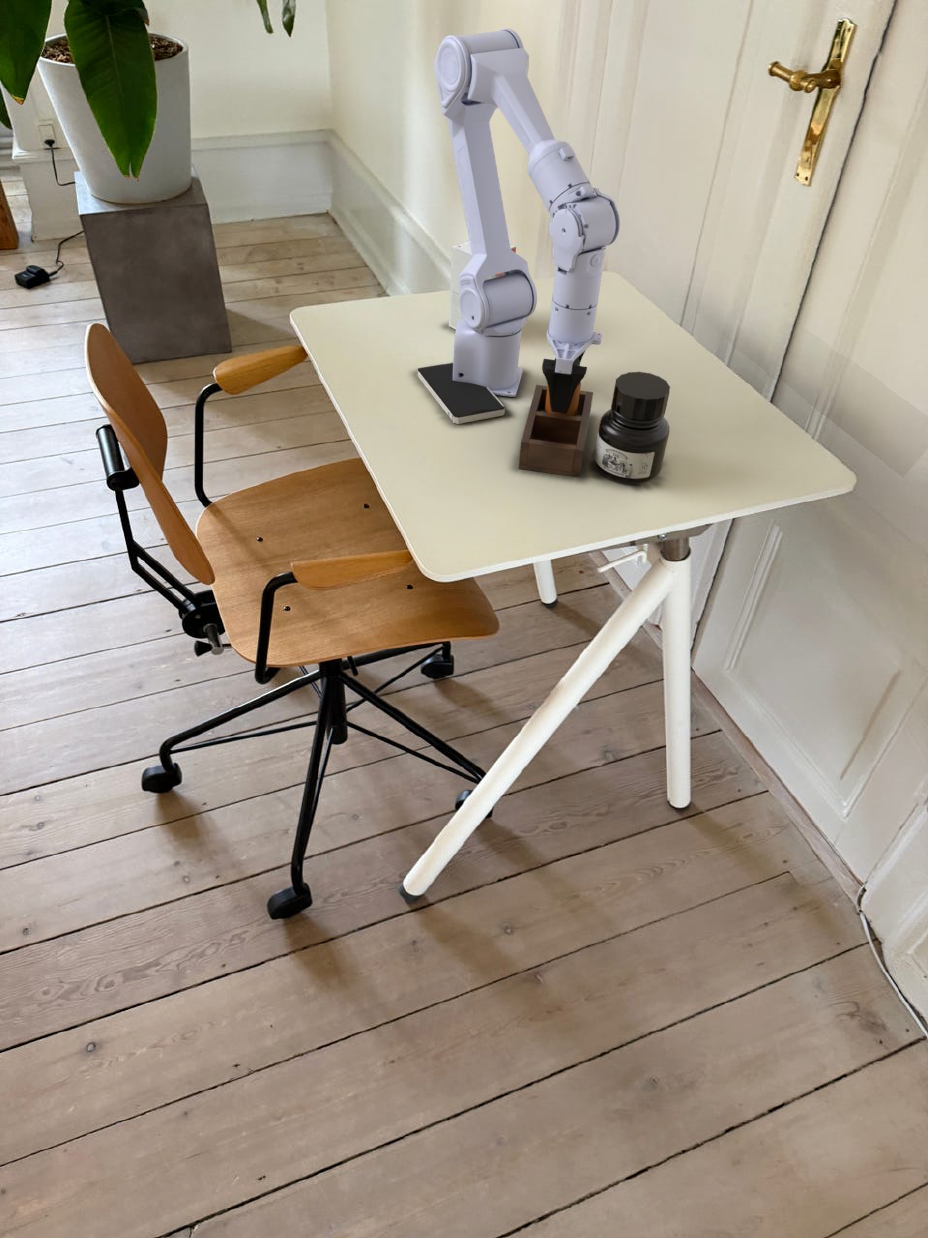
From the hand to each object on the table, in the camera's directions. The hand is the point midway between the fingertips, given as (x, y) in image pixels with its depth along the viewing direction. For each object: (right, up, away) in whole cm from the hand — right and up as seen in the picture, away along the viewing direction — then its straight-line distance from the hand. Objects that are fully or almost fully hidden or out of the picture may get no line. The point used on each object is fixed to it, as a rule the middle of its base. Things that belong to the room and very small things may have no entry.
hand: (562, 396), depth 125 cm
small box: (-11, +17, +25) cm, 32 cm away
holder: (-1, -6, +1) cm, 6 cm away
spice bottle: (0, -3, +3) cm, 4 cm away
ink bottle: (+8, -10, -3) cm, 13 cm away
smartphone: (-14, +2, +9) cm, 17 cm away
